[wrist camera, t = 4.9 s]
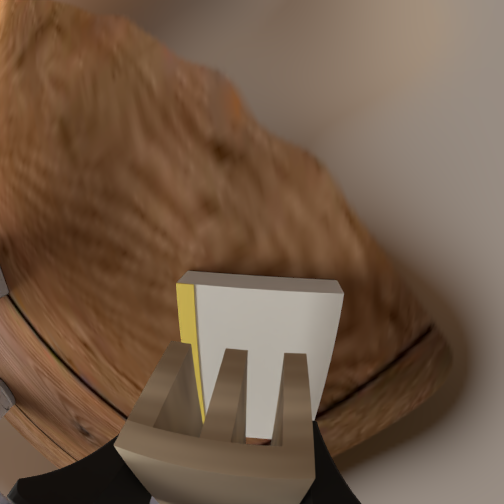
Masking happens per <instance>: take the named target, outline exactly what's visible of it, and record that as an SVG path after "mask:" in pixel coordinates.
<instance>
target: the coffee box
mask: <svg viewBox="0 0 504 504" xmlns="http://www.w3.org/2000/svg"><path fill="white" fill-rule="evenodd" d="M8 293H9V291H8V288H7V285H6V282H5V279H4V277H3V274H2V271H1V268H0V298H1V297H3V296H5V295H6V294H8Z"/></svg>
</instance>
